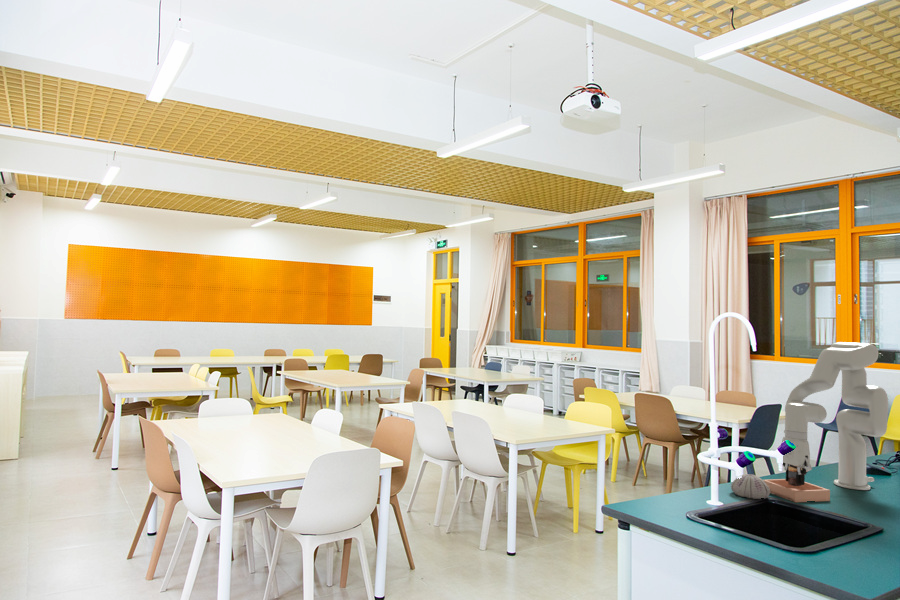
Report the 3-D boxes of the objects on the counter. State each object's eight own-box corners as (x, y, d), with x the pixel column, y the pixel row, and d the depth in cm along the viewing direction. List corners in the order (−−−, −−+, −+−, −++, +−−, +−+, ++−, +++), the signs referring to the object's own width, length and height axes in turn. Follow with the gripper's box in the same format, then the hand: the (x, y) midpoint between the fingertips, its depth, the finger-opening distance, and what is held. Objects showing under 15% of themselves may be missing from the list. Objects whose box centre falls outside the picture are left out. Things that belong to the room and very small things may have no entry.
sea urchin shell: (773, 503, 215) (773, 481, 215) (733, 498, 219) (733, 476, 219) (766, 493, 227) (766, 472, 227) (728, 489, 231) (728, 468, 232)
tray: (794, 488, 236) (795, 478, 236) (829, 500, 220) (830, 490, 220) (761, 489, 232) (762, 479, 232) (795, 502, 216) (795, 491, 216)
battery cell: (794, 482, 229) (795, 463, 229) (804, 486, 224) (804, 466, 225) (785, 483, 227) (785, 463, 228) (794, 486, 223) (795, 466, 223)
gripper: (771, 431, 234) (769, 477, 233) (806, 439, 218) (805, 489, 217) (786, 431, 236) (785, 477, 235) (822, 439, 219) (821, 488, 219)
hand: (794, 482), depth 226 cm, fingers closed on battery cell, 4 cm apart
